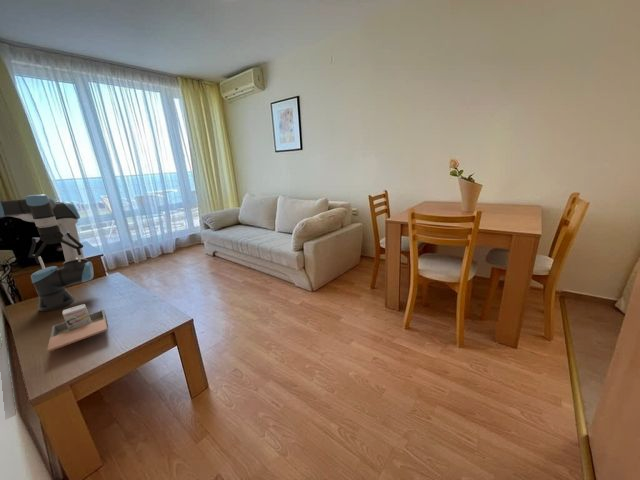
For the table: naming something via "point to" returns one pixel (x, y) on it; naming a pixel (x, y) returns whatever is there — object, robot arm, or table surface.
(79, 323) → the ink box
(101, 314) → the box
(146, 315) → the table surface
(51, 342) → the lid
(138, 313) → the table surface
